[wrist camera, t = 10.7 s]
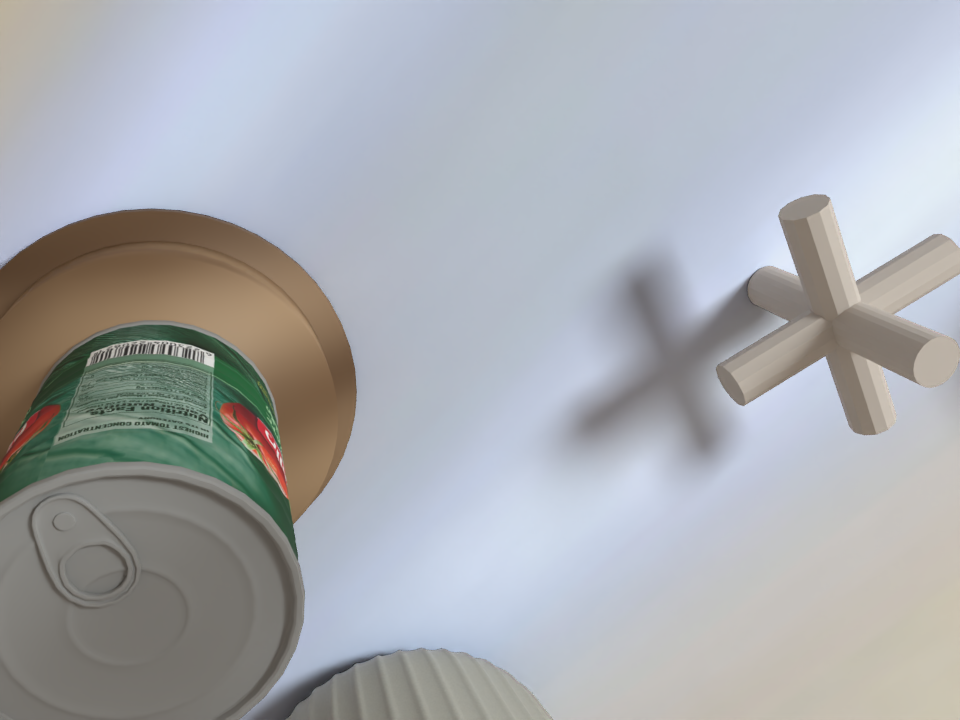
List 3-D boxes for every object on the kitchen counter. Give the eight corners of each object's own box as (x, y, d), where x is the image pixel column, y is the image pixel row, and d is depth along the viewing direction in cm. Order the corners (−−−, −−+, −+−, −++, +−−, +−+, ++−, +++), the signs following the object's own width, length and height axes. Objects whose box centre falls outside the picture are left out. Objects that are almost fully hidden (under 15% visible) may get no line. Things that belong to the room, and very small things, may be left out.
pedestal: (-123, 271, 29) (-159, 295, 26) (295, 163, 31) (303, 175, 28) (47, 609, 34) (32, 658, 31) (392, 495, 36) (406, 531, 34)
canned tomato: (313, 473, 32) (356, 671, 22) (105, 566, 31) (52, 818, 21) (216, 279, 29) (215, 408, 19) (-19, 377, 28) (-153, 567, 18)
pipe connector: (707, 432, 40) (850, 547, 31) (627, 246, 36) (766, 315, 27) (888, 322, 40) (1081, 401, 31) (830, 126, 36) (1033, 153, 27)
